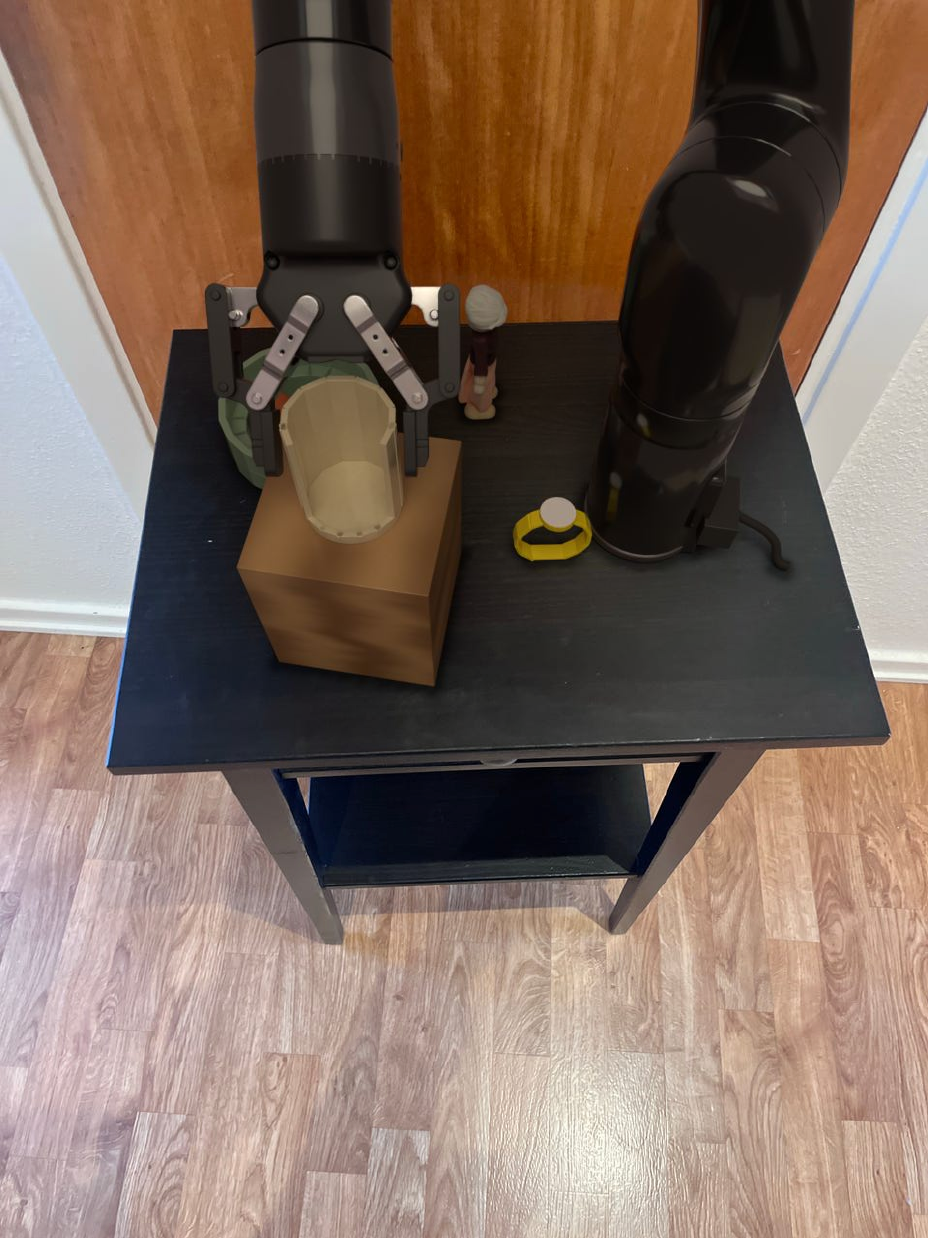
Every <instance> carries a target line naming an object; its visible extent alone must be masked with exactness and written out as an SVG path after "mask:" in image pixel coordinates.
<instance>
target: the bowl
mask: <svg viewBox="0 0 928 1238" xmlns="http://www.w3.org/2000/svg"><path fill="white" fill-rule="evenodd" d="M270 349H271V347H269V348H266V349H263V350H260V351H258V352H257V353H255V354H254V355H252V356H251V357H249V358H247V359H246V360H245V361H243V371H244V379H247V380H249V381H252V382H254V380H255V379H256V377H257V375H258V373H259V372H260V370H261V368H262V365H263V362H264V360H265V358H266V356H267V354H268V353H269V351H270ZM324 376H325V377H326V378H327V376H355V378H356V377H357V376H358V377H360V378H363V379H365V380H367V381H369V382H372V383H374V384H376V385H378V386H380V384H379V382H378V380H377V378H376V377H375V375H374V373H373V371H372V370H371V368H370V367H369V365H368V363H348V362H344V361H340V360H334V361H331V362H327V363H308V362H306V361H304V360H301V361H300V363H299V365H298V366H297V368H296V370H295V371H294V373H293V374H292V376H291V377H290V378H289V379H288V381H287V383H286V385H285V386H284V388H283V390H282V391H281V392H283V393H285V394H287V395H288V396H289V397H291V396H292V395H293V394H294V393H295V392H296V390H297V389H298V388H300V387H301V386H303V385H306V384H308V383H310V382H313V381H315V380H317V379H320V378H322V377H324ZM300 389H301V388H300ZM217 404H218V406H217V407H218V408H217V409H218V422H219V426H220V428H221V431H222V433H223V435H224V438H225V441H226V444H227V446H228V449H229V452H230V454H231V456H232V459H233V461H234V463H235V465H236V467H237V470H238V471H239V473H241V475H242V476H244V477H245V478H246V479H247V480H248V482H250V483H251V485H253V486H254V487H256V488H259V489H260V490H263V488H264V485H265V482H266V479H267V477H266V476H265V473H264V467H257V466H256V464H255V462H254V460H253V457H252V443H251V430H250V417H249V412H248V410H247V409H246V407H245V406H244V405H242V404H241V403H238V402H235V401H233V400H230V399H227V398H221V397H218V403H217Z"/></svg>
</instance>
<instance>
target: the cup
mask: <svg viewBox="0 0 928 1238" xmlns="http://www.w3.org/2000/svg"><path fill="white" fill-rule="evenodd" d="M300 388H301V389H300ZM300 388H298V389H297V390H296V392H295V393H294V394H293V395H292V396H291V398H290V399H289V400H288V401H287V402H286V403H285V405H284V406H283V408H282V411H281V420H280V424H279V428H280V430H279V431H280V434H281V438H282V441H283V445H284V448H285V452H286V455H287V459H288V462H289V466H290V469H291V473H292V476H293V480H294V483H295V487H296V490H297V494H298V497H299V501H300V504H301V507H303V510H304V513H305V517H306V519H307V521H308V523H309V524H310V526H311V527H312V528H313V529H314V530H315V531H316V532H317V533H318V534H320V535H321V536H323V537H324V538H326V539H329V540H331V541H334V542H338V543H343V544H359V543H364V542H368V541H371V540H374V539H376V538H378V537H380V536H382V535H383V534H385V533H386V532H387V531H389V530H390V529H391V528H392V527H393V526H394V524H395V523H396V522H397V520H398V519H399V517H400V515H401V512H402V509H403V503H404V495H403V476H402V466H401V456H400V446H399V436H398V433H399V425H398V418H397V408H396V405H395V404H394V402H393V401H392V400H391V398H390V397H389V395H388V394H387V393H386V391H385V389H384V388H383V387H381V386H380V385H379V386H378V385H376V384H374V383H372V382H369V381H367V380H365V379H363V378H360V377H358V376H357V377H356V378H355V376H327V378H326V377H325V376H324V377H322V378H320V379H317V380H315V381H313V382H310V383H308V384H306V385H303V386H301V387H300Z"/></svg>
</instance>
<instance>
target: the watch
mask: <svg viewBox="0 0 928 1238" xmlns="http://www.w3.org/2000/svg"><path fill="white" fill-rule="evenodd" d="M573 526H576V527H578V528H582V531H581V532H580V533H579V534H578V535H577V536H575V538H572V539H570V540H568V541H566V542H563V543H559V544H558V543H557V544H556V543H555V544H529V543H528V542H526V541H523V540H522V539H523V537H524V536H526V535H527V534H528V533H530V532H531V531H532V530H535V529H537V528H541V527H544V528H545V529H546V530H548V531H551V532H555V533H563V532H566V531H568V530H570V529H571V528H572V527H573ZM512 537H513V545H514V548H515V550H516V553H517V554H518V555H519V556H520V557H522V558H525V559H526V560H529V561H531V562H534V561H554V560H555V561H556V560H568V559H571V558H573V557H575V556H577V555H579V554H581V553H582V552H583V551H584V550H585V549H586V548H587V547H589V546H590V544H591V542H592V538H593V537H592V531H591V526H590V520H589V519H588V518H587V516H586V515H585V513H584V512H583V511H581V510H578V509H577V508H576V507H575V505H574V504H573V503H572V502H571V501H570V500H568V499H566V498H564V497H558V496H555V497H550V498H547V499H546V500H545V501H544V502H542V504H541V506H540V508H539V509H536V510H533V511H530V512H529V513H527V514H526V515H524V516H523V517H522V518H520V519H519V520H518V521H517V522H516V523H515V526H514V527H513V530H512Z"/></svg>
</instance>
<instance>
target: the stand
mask: <svg viewBox="0 0 928 1238" xmlns="http://www.w3.org/2000/svg"><path fill="white" fill-rule="evenodd" d="M398 436H399V446H400V456H401V466H402V476H403V495H404V503H403V509H402V512H401V515H400V517H399V519H398V520H397V522H396V523H395V524H394V526H393V527H392V528H391V529H390V530H389V531H387V532H386V533H385V534H383V535H382V536H380V537H378V538H376V539H374V540H371V541H368V542H364V543H359V544H343V543H338V542H334V541H331V540H329V539H326V538H324V537H323V536H321V535H320V534H318V533H317V532H316V531H315V530H314V529H313V528H312V527H311V526H310V524H309V523H308V521H307V519H306V517H305V513H304V510H303V507H301V504H300V501H299V497H298V494H297V490H296V487H295V483H294V480H293V476H292V473H291V469H290V466H289V462H288V459H287V455H286V452H285V448H284V445H283V441H282V448H283V464H284V470H283V474H282V475H281V476H279V477H267V479H266V482H265V485H264V488H263V489H262V491H261V494H260V497H259V499H258V503H257V505H256V508H255V511H254V515H253V517H252V520H251V523H250V526H249V530H248V533H247V535H246V538H245V541H244V544H243V547H242V551H241V553H240V556H239V558H238V563H237V565H236V569H237V571H238V574H239V577H240V578H241V580H242V583H243V585H244V587H245V590H246V591H247V594H248V596H249V598H250V601H251V603H252V605H253V607H254V609H255V611H256V614H257V616H258V618H259V621H260V623H261V625H262V627H263V629H264V632H265V633H266V636H267V638H268V641H269V643H270V645H271V648H272V649H273V651H274V654H275V656H276V658H277V660H278V662H279V663H283V664H284V663H285V664H290V665H298V666H303V667H310V668H316V669H321V670H329V671H336V672H342V673H346V674H353V675H360V676H367V677H372V678H380V679H385V680H392V681H399V682H406V683H410V684H417V685H422V686H423V685H424V686H428V687H429V686H430V687H435V686H436V681H437V677H438V671H439V666H440V660H441V657H442V650H443V645H444V641H445V637H446V630H447V628H448V627H447V626H448V621H449V615H450V611H451V607H452V600H453V595H454V591H455V586H456V581H457V575H458V570H459V566H460V561H461V556H462V499H463V497H462V495H463V494H462V491H463V489H462V488H463V487H462V479H463V475H462V471H463V469H462V468H463V467H462V460H463V459H462V457H463V456H462V455H463V453H462V448H463V447H462V445H463V443H462V441H461V440H457V439H448V438H440V437H433V436H429V458H428V461H427V464H426V466H425V467H418V475H417V477H405V475H404V435H403V432H398Z"/></svg>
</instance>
